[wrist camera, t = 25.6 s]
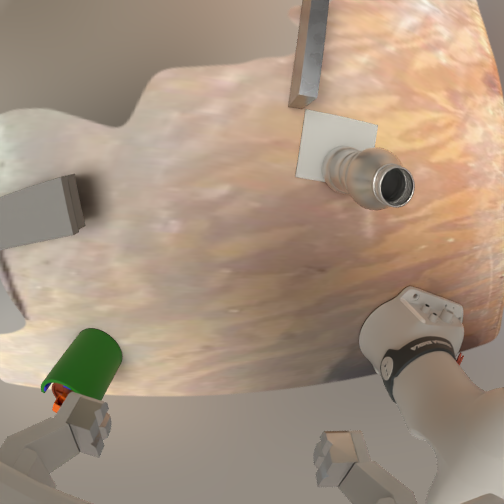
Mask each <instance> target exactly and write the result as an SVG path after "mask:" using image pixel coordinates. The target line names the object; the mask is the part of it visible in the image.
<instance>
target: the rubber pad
mask: <svg viewBox="0 0 504 504" xmlns="http://www.w3.org/2000/svg"><path fill="white" fill-rule="evenodd" d="M377 128H378V125H375V124H371V123H367V122H363V121H359V120H355V119H350V118H346V117H342V116H337V115H332V114H328V113H323V112H318V111H312V110H307V109H306V110H305V115H304V122H303V129H302V136H301V142H300V149H299V156H298V162H297V168H296V175H295V177H298V178H305V179H311V180H316V181H322V182H325V180H324V177H323V172H322V166H323V162H324V159H325V157H326V156H327V155H328V154H329V153H330V152H331V151H332V150H334V149H335V148H337V147H340V146H350V147H353V148H355V149H357V150H359V151H362V150H365V149H368V148H375V142H376V135H377Z"/></svg>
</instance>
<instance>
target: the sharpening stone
mask: <svg viewBox="0 0 504 504" xmlns="http://www.w3.org/2000/svg"><path fill="white" fill-rule="evenodd" d="M84 226H85V221H84V217H83V213H82V208H81V203H80V199H79V194H78V189H77V183H76V178H75V174H72V175H68V176H63V177H59V178H56V179H53V180H49V181H46V182H43V183H40V184H37V185H34V186H31V187H28V188H25V189H22V190H19V191H16V192H13V193H10V194H8V195H5V196H2V197H0V250H3V249H8V248H13V247H17V246H22V245H27V244H31V243H36V242H41V241H46V240H51V239H56V238H61V237H67V236H72V235H75V234H76V233H78V232H79V229H81V228H83V227H84Z"/></svg>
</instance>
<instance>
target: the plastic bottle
mask: <svg viewBox="0 0 504 504" xmlns="http://www.w3.org/2000/svg"><path fill="white" fill-rule="evenodd" d="M322 172H323V177H324V180H325V182H326V183H327V185H328V186H329V187H330V188H331V189H332V190H334V191H336V192H338V193H342V194H350V195H351V197H352V198H353V199H354V201H356V202H357V203H358V204H359V205H360V206H362V207H364V208H366V209H369V210H381V209H385V208H388V207H390V206H391V207H401V206H404V205H405V204H407V203H408V202H409V201H410V199H411V198H412V196H413V193H414V188H415V184H414V179H413V177H412V175H411V173H410V172H409V171H408V170H407V169H405V168H404V167H403V166H402V164H401V162H400V161H399V159H398V158H397V157H396V156H395V155H394V154H393V153H392V152H390V151H388V150H386V149H383V148H378V147H375V148H368V149H365V150H362V151H359V150H357V149H355V148H353V147H350V146H340V147H337V148H335V149H334V150H332V151H331V152H330V153H329V154H328V155H327V156H326V157H325V159H324V162H323V166H322Z"/></svg>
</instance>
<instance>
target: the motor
mask: <svg viewBox="0 0 504 504" xmlns="http://www.w3.org/2000/svg"><path fill="white" fill-rule="evenodd" d="M121 362H122V352H121V350H120V347H119V346H118V344H117V343H116V341H115V340H114V339H113V338H112V337H110V336H109V335H108V334H106V333H105V332H103V331H100V330H98V329H92V328H89V329H85V330H83V331H81V332H80V334H79V335H78V336H77V337H76V339H75V340H74V341H73V342H72V344H71V345H70V346H69V348H68V349H67V350H66V352H65V353H64V354H63V355H62V357H61V358H60V359H59V361H58V362H57V363H56V365H55V366H54V367H53V369H52V370H51V372H50V373H49V374H48V376H47V377H46V378H45V380H44V381H43V383H42V384H41V391H42V392H43V393H45V392H46V390H47V389H48V387H49V386H50V385H51V383H53V385H52V391H53V394H54V396H55V397H56V401H55V402H54V405H53V409H52V410H53V411H54V412H56V413H57V412H58V410H59V409H60V407H61V405H62V404H63V402H64V401H65V399H66V397H67V396H68V394H69V393H71V392H75V393H78V394H81V395H84V396H87V397H91V398H94V399H97V400H100V401H101V400H102V398H103V396H104V394H105V392H106V390H107V388H108V387H109V385H110V383H111V381H112V379H113V377H114V375H115V373H116V371H117V369H118V368H119V366H120V364H121Z"/></svg>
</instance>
